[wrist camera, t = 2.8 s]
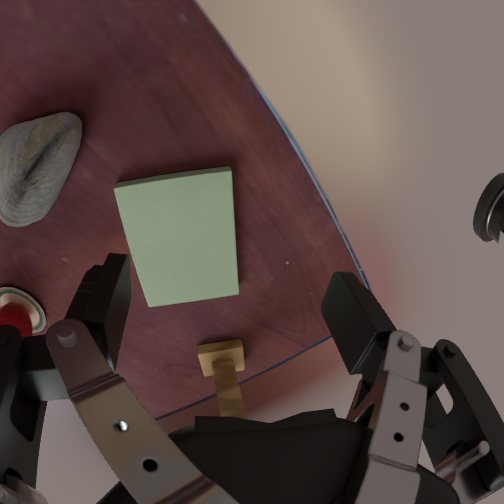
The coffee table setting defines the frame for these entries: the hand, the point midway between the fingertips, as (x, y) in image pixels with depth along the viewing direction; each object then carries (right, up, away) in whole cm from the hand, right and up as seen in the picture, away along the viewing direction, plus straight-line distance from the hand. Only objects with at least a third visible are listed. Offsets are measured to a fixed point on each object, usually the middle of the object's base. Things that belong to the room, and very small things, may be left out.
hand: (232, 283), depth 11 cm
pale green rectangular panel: (-6, +2, +17) cm, 18 cm away
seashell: (-18, +9, +9) cm, 22 cm away
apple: (-28, -6, +17) cm, 34 cm away
